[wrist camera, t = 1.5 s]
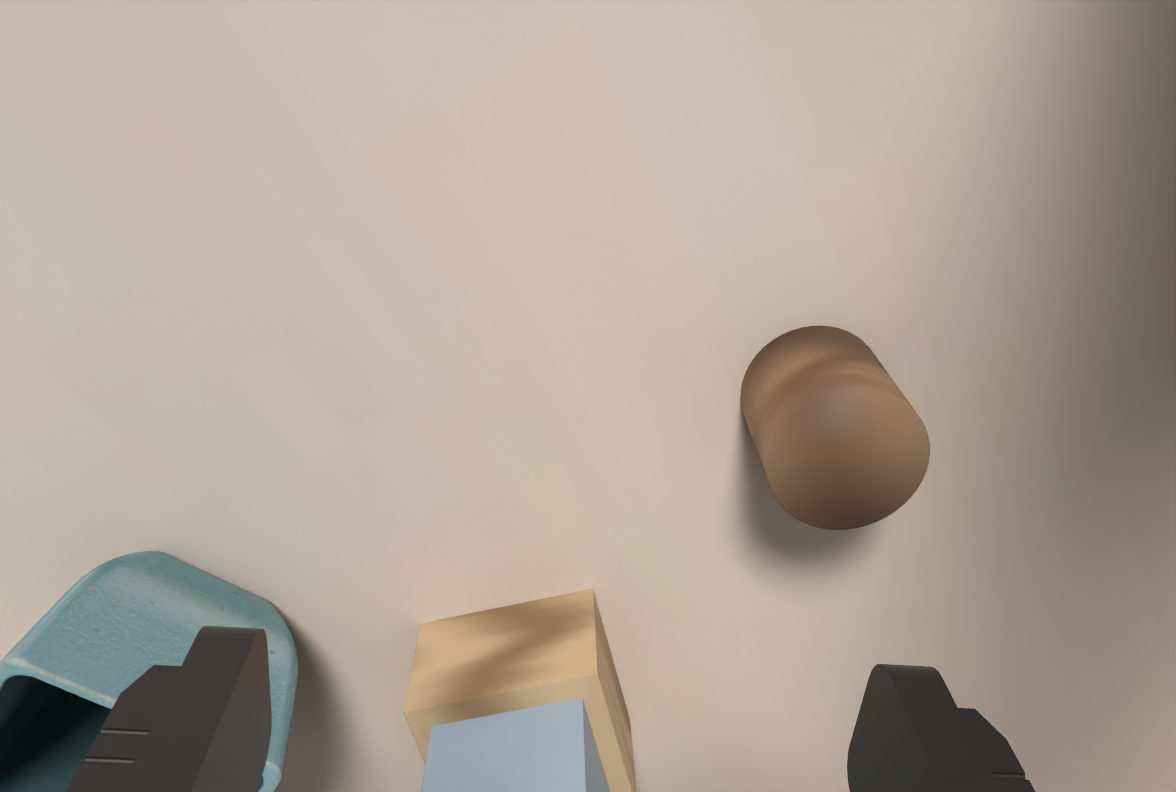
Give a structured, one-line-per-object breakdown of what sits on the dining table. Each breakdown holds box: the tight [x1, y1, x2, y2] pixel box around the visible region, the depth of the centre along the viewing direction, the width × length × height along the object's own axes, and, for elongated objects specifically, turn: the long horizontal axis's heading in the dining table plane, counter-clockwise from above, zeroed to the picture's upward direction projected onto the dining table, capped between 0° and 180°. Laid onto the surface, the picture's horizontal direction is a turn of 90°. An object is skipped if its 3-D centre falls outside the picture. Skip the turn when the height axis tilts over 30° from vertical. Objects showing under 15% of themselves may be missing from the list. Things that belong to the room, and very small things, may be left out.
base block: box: [404, 589, 636, 792], centre depth 38 cm, size 7×7×5 cm
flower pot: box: [0, 551, 298, 792], centre depth 34 cm, size 9×9×9 cm
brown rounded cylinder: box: [741, 326, 930, 530], centre depth 32 cm, size 5×5×5 cm
